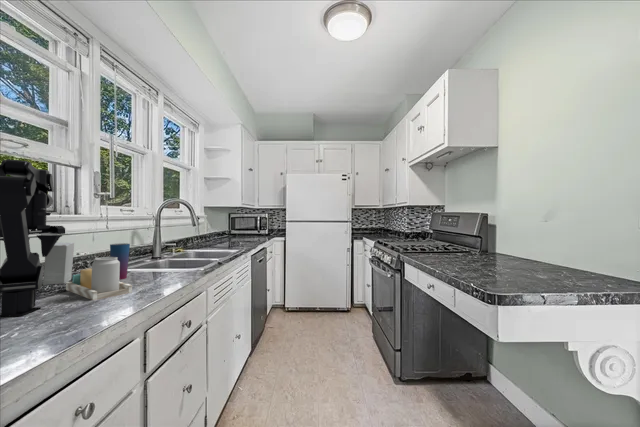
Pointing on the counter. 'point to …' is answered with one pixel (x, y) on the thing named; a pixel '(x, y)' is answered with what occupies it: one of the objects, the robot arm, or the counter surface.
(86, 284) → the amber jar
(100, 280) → the can
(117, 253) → the cup
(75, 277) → the pusher plate
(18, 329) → the counter surface
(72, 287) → the tray
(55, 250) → the skincare box
